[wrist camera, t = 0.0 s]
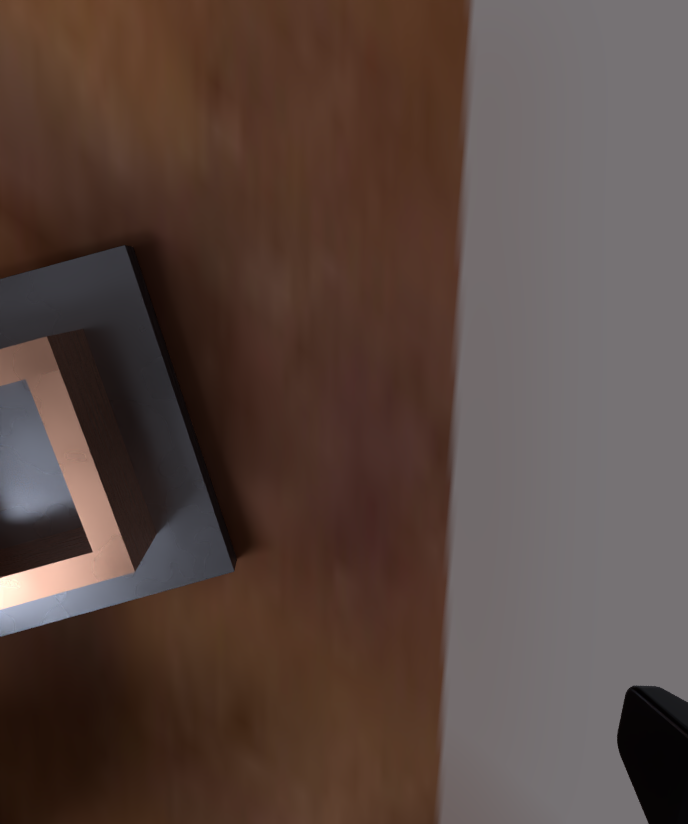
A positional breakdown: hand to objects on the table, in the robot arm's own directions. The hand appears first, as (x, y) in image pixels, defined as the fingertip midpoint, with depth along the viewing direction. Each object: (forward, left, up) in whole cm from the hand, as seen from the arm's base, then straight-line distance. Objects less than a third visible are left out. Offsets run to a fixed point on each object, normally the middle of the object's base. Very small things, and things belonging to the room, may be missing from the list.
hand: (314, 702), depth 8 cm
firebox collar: (-1, +10, -15) cm, 18 cm away
